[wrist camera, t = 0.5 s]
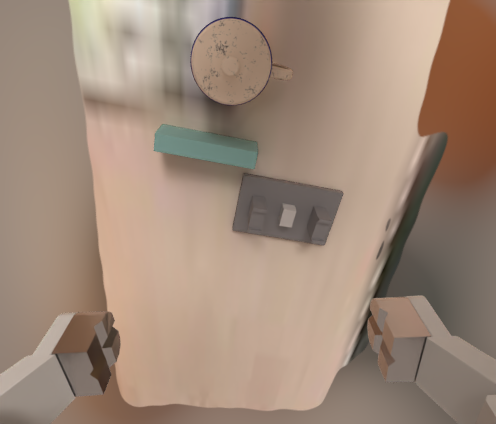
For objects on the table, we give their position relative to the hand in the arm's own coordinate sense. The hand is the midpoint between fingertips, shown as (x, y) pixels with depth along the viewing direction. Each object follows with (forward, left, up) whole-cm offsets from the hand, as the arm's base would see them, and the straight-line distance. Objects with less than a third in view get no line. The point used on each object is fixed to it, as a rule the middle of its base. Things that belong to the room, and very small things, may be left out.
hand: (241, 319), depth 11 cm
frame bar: (+8, -4, -43) cm, 44 cm away
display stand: (+17, +10, -43) cm, 47 cm away
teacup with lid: (-4, -1, -43) cm, 43 cm away
